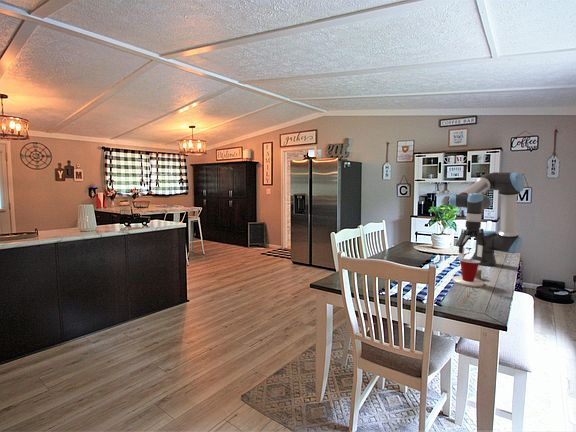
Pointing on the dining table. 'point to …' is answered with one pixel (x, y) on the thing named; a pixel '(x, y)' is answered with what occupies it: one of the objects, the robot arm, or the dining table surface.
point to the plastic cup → (469, 269)
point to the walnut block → (478, 274)
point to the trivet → (469, 284)
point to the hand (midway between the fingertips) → (470, 257)
